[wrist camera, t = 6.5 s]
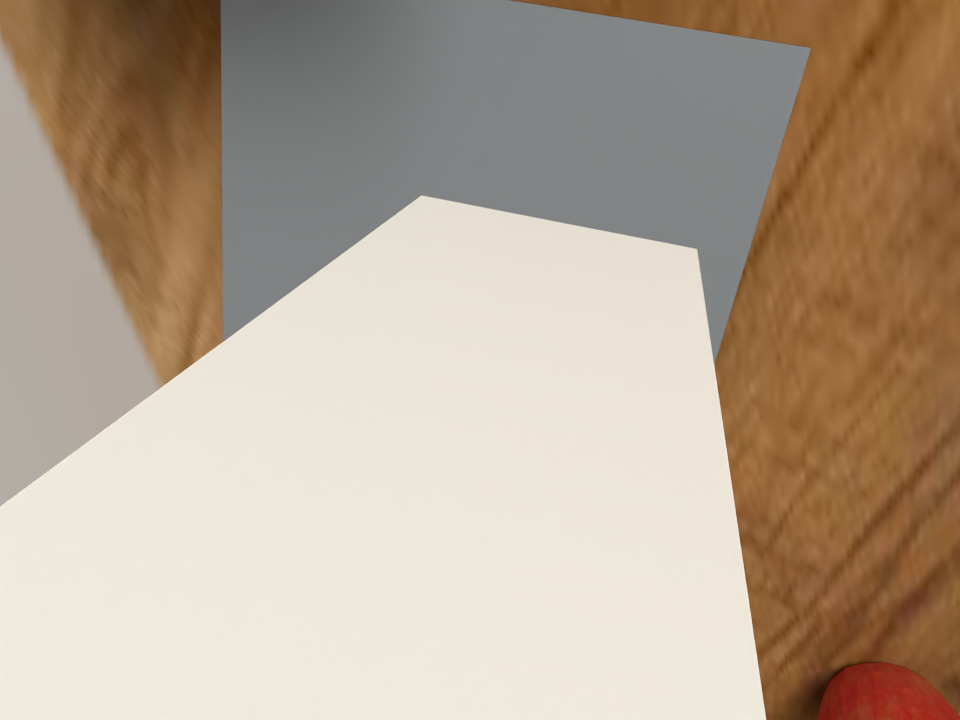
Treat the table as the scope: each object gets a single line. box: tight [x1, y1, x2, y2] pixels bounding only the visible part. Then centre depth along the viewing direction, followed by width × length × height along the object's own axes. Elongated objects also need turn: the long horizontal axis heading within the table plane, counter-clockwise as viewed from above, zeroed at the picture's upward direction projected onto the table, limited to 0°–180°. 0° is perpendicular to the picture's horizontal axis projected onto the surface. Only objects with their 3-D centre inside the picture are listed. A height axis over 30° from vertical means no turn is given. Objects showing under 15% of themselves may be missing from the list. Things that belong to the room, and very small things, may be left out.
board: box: [221, 0, 811, 364], centre depth 26 cm, size 18×14×1 cm
